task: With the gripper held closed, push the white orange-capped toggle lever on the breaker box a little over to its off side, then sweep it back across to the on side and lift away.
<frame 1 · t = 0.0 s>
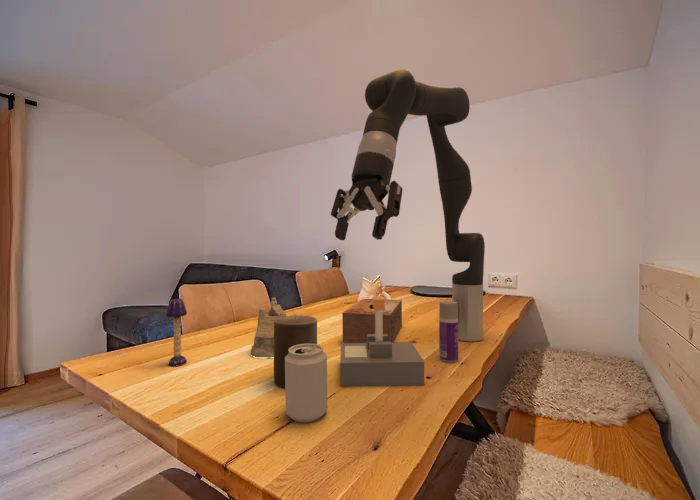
hand: (357, 238, 61), 31 cm above the table, tool tilted 20°, fingers open, 8 cm apart
toy lamp: (177, 364, 85), on the table
pillar candle: (296, 380, 75), on the table
tissue box cover: (375, 336, 110), on the table
can: (306, 414, 60), on the table
breaker box: (379, 372, 78), on the table
container: (448, 360, 87), on the table
ceramic cottage: (282, 351, 96), on the table
breaker lever: (378, 324, 78), point 11 cm above the table, hinge at 0.0°
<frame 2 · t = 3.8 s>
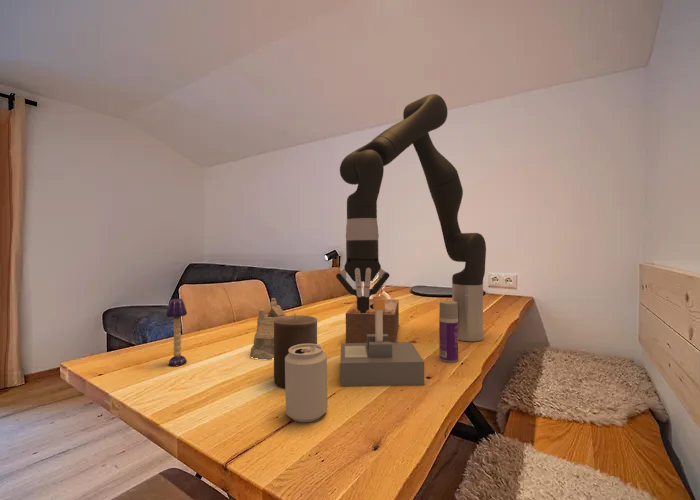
hand: (363, 312, 78), 14 cm above the table, tool pointing down, fingers closed
breaker lever: (378, 324, 78), point 11 cm above the table, hinge at -0.1°, touching gripper
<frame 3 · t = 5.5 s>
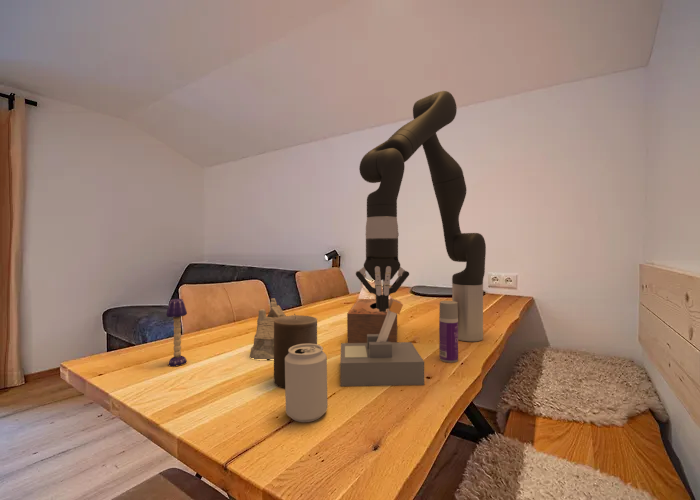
hand: (382, 310, 78), 15 cm above the table, tool pointing down, fingers closed
breaker lever: (387, 325, 78), point 11 cm above the table, hinge at -21.3°
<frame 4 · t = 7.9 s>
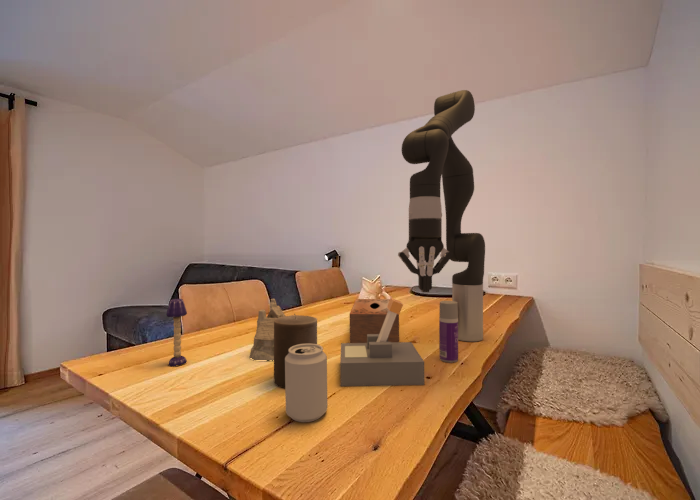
hand: (425, 291, 78), 19 cm above the table, tool pointing down, fingers closed
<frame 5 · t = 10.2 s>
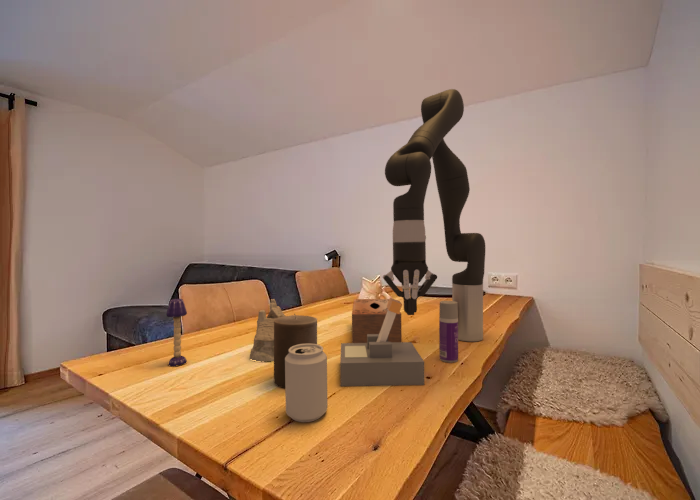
hand: (410, 314, 78), 14 cm above the table, tool pointing down, fingers closed
breaker lever: (386, 325, 78), point 11 cm above the table, hinge at -20.4°, touching gripper
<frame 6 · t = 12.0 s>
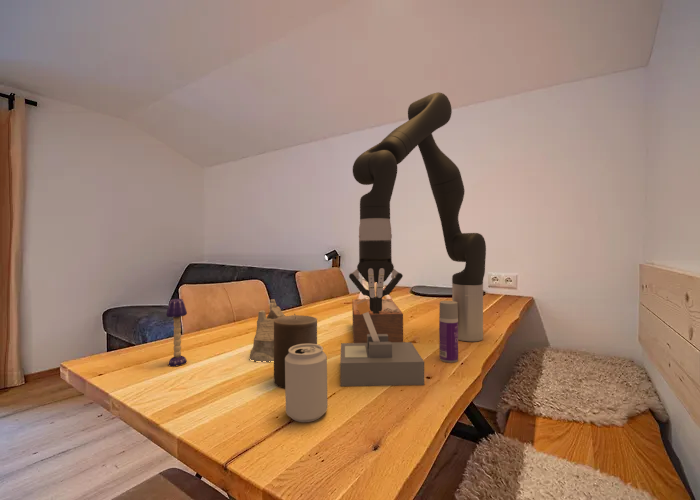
hand: (375, 313, 78), 14 cm above the table, tool pointing down, fingers closed
breaker lever: (370, 326, 78), point 11 cm above the table, hinge at 20.5°, touching gripper
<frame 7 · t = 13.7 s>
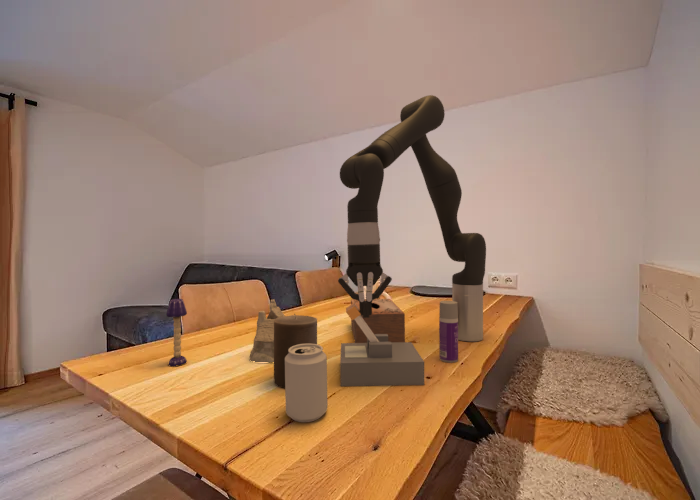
hand: (365, 317, 78), 13 cm above the table, tool pointing down, fingers closed
breaker lever: (365, 328, 78), point 10 cm above the table, hinge at 34.7°, touching gripper
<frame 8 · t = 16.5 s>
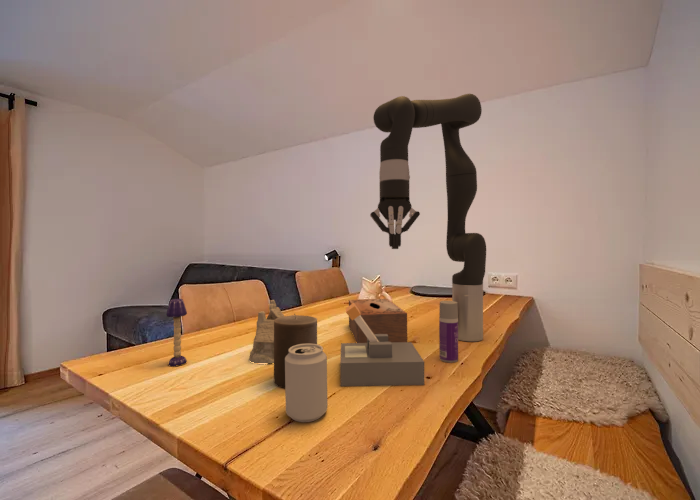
hand: (394, 248, 85), 29 cm above the table, tool pointing down, fingers closed
breaker lever: (365, 328, 78), point 10 cm above the table, hinge at 34.9°
at the end: breaker lever at +35° (first picture: +0°); container moved 0.2 cm from its start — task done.
